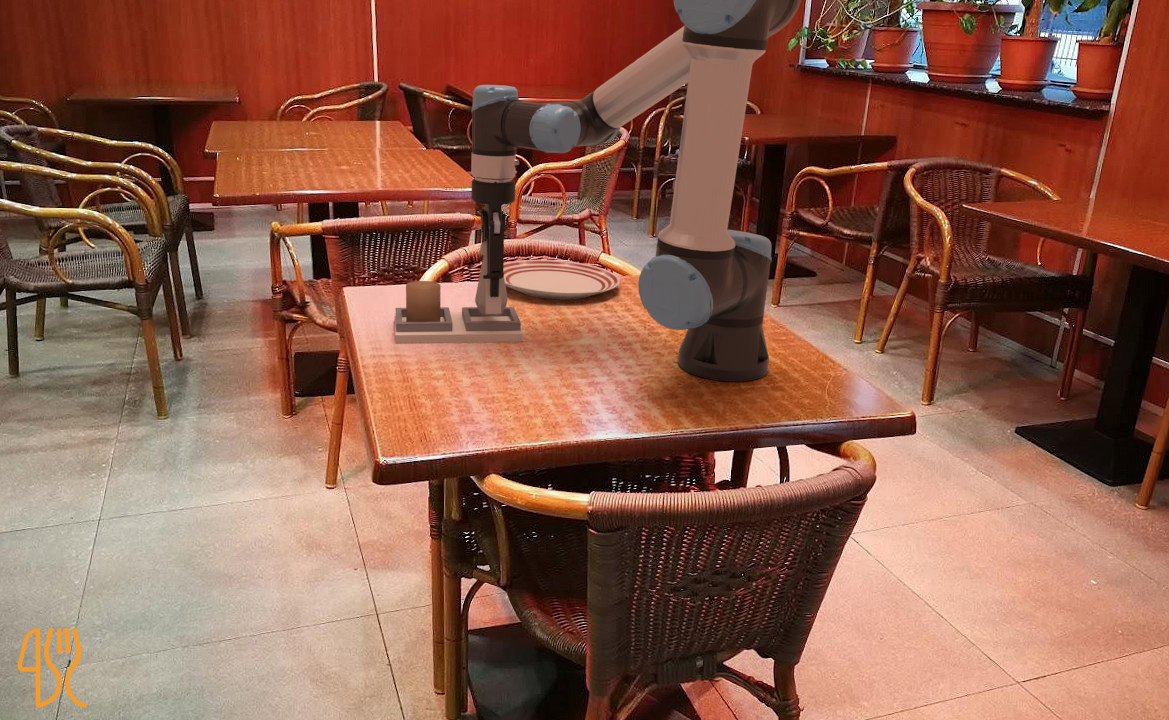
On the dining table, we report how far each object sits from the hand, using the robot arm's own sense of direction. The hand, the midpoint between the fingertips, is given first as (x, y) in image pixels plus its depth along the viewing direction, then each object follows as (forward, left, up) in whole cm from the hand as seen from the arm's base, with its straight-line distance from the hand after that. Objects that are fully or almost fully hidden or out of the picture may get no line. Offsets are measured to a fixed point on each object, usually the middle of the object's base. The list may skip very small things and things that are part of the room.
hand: (491, 307), depth 170 cm
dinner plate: (+29, -17, -5) cm, 34 cm away
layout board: (0, +6, -4) cm, 7 cm away
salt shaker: (0, 0, -1) cm, 1 cm away
